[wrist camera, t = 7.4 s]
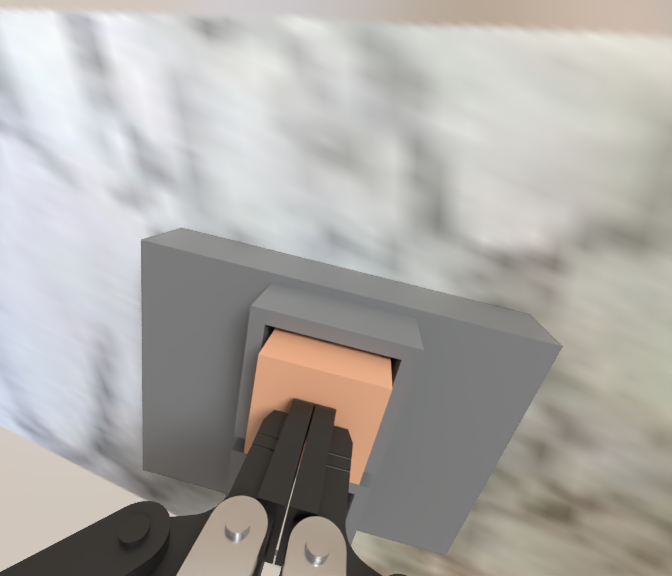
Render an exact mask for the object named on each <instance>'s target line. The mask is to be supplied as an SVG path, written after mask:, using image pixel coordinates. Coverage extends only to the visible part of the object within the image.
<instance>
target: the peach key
mask: <svg viewBox="0 0 672 576" xmlns="http://www.w3.org/2000/svg"><path fill="white" fill-rule="evenodd" d="M391 392H392V373H391V357H388V356H384V355H380V354H377V353H373V352H369V351H365V350H361V349H357V348H353V347H350V346H346V345H342V344H338V343H334V342H330V341H326V340H323V339H319V338H315V337H311V336H307V335H303V334H300V333H296V332H292V331H288V330H284V329H280V328H275V330H274V331H273V333H272V334H271V336H270V337H269V339H268V340H267V342H266V343H265V345H264V346H263V348H262V349H261V351H260V353H259V354H258V361H257V367H256V374H255V381H254V387H253V394H252V401H251V407H250V414H249V421H248V427H247V434H246V440H245V447H244V453H246V454H248V452H249V449H250V447H251V446H252V443H253V441H254V439H255V436H256V435H257V432H258V430H259V428H260V426H261V423H262V421H263V419H264V418H265V417H267V416H268V415H269V414H270V413H271V412H272V411H274V410H278V411H282V412H286V413H289V410H290V407H291V405H292V402H293V399H294V398H297V399H300V400H304V401H308V402H312V403H314V407H313V412H312V416H311V420H310V424H309V428H308V432H309V429H310V425H311V421H312V418H313V414H314V410H315V406H316V404H319V405H323V406H327V407H331V408H334V409H336V416H335V421H334V426H338V427H342V428H346V429H348V430H349V433H350V436H351V439H352V442H353V449H352V459H351V470H350V481H349V482H351V483H354V484H358V485H359V484H360V481H361V478H362V475H363V472H364V469H365V466H366V464H367V461H368V458H369V455H370V452H371V449H372V446H373V444H374V441H375V438H376V435H377V432H378V429H379V426H380V424H381V421H382V418H383V415H384V412H385V409H386V406H387V404H388V401H389V398H390V395H391ZM308 432H307V436H308ZM307 436H306V440H307ZM306 440H305V444H306ZM305 444H304V447H305ZM303 451H304V448H303ZM302 455H303V452H302ZM301 459H302V456H301ZM301 459H300V462H301ZM299 466H300V463H299ZM298 468H299V467H298Z"/></svg>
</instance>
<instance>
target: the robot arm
mask: <svg viewBox="0 0 672 576" xmlns="http://www.w3.org/2000/svg"><path fill="white" fill-rule="evenodd" d="M313 407H314V403H312V402H308V401H304V400H300V399H297V398H294V399H293V402H292V405H291V407H290V410H289V413H286V412H282V411H278V410H274V411H272V412H271V413H270V414H269V415H268V416H267V417H265V418H264V419H263V421H262V423H261V426H260V428H259V430H258V432H257V435H256V436H255V439H254V441H253V443H252V446H251V447H250V449H249V452H248V454H247V456H246V458H245V460H244V462H243V465H242V467H241V469H240V471H239V473H238V475H237V478H236V480H235V482H234V484H233V486H232V488H231V490H230V492H229V494H228V495H227V497H226V498H225V499H224V500H223V501H222V502H221V503H220V504H219V505H218V506H216V507H215V508H213V509H212V510H210V511H207V512H205V513H202V514H197V515H189V516H176V517H170V516H169V513H168V512H167V510H166V509H165V508H164V507H163V506H162V505H160V504H159V503H156V502H151V501H143V502H137V503H134V504H131V505H129V506H127V507H124V508H123V509H120V510H119V511H117V512H115V513H113V514H111V515H109V516H107V517H105V518H103V519H101V520H99V521H97V522H96V523H94V524H92V525H90V526H88V527H86V528H84V529H82V530H80V531H78V532H76V533H74V534H73V535H71V536H69V537H67V538H65V539H63V540H61V541H59V542H57V543H55V544H53V545H51V546H50V547H48V548H46V549H44V550H42V551H40V552H38V553H36V554H34V555H32V556H30V557H28V558H27V559H24V560H23V561H21V562H19V563H17V564H15V565H13V566H11V567H9V568H7V569H5V570H3V571H1V572H0V576H261V572H262V569H263V566H264V562H268V563H271V564H272V563H273V559H274V555H275V552H276V548H277V544H278V541H279V537H280V533H281V529H282V526H283V522H284V518H285V515H286V511H287V507H288V504H289V507H288V511H287V516H286V520H285V524H284V528H283V532H282V536H281V540H280V544H279V549H278V553H277V557H276V561H275V564H276V565H279V566H282V567H281V571H280V575H279V576H382V575H380V574H379V573H377V572H376V571H375V570H373V569H372V568H370V567H369V566H368V565H366V564H365V563H364V562H363V561H362V560H361V559H360V558H359V557H358V556H357V555H356V554H355V552H354V551H353V549H352V547H351V546H350V543H349V541H348V538H347V534H346V527H345V526H346V512H347V502H348V491H349V481H350V470H351V459H352V449H353V442H352V439H351V436H350V433H349V430H348V429H346V428H342V427H338V426H334V421H335V416H336V409H334V408H331V407H327V406H323V405H319V404H316V406H315V410H314V414H313V418H312V421H311V425H310V429H309V432H308V428H309V424H310V420H311V416H312V412H313ZM307 432H308V436H307ZM306 436H307V440H306ZM305 440H306V444H305ZM304 444H305V447H304ZM303 448H304V451H303ZM302 452H303V455H302ZM301 456H302V459H301ZM300 459H301V462H300ZM299 463H300V466H299ZM298 467H299V470H298ZM297 470H298V474H297ZM296 474H297V477H296ZM295 478H296V481H295ZM294 481H295V485H294ZM293 485H294V488H293ZM292 489H293V492H292ZM291 493H292V496H291ZM290 496H291V500H290ZM289 500H290V503H289ZM390 576H406V575H402V574H393V575H390Z"/></svg>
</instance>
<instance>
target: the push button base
mask: <svg viewBox="0 0 672 576" xmlns="http://www.w3.org/2000/svg"><path fill="white" fill-rule="evenodd" d="M141 284H142V401H143V470H146V471H149V472H153V473H156V474H160V475H163V476H167V477H170V478H174V479H177V480H181V481H185V482H188V483H192V484H195V485H199V486H202V487H206V488H209V489H213V490H216V491H220V492H223V493H226V497H227V495H228V494H229V492H230V490H231V488H232V486H233V484H234V482H235V480H236V478H237V475H238V473H239V471H240V469H241V467H242V465H243V462H244V460H245V458H246V456H247V454H246V453H244V447H245V440H246V434H247V427H248V421H249V414H250V407H251V401H252V394H253V387H254V381H255V374H256V367H257V361H258V354H259V353H260V351H261V349H262V348H263V346H264V345H265V343H266V342H267V340H268V339H269V337H270V336H271V334H272V333H273V331H274V330H275V328H280V329H284V330H288V331H292V332H296V333H300V334H303V335H307V336H311V337H315V338H319V339H323V340H326V341H330V342H334V343H338V344H342V345H346V346H350V347H353V348H357V349H361V350H365V351H369V352H373V353H377V354H380V355H384V356H388V357H391V373H392V392H391V395H390V398H389V401H388V404H387V406H386V409H385V412H384V415H383V418H382V421H381V424H380V426H379V429H378V432H377V435H376V438H375V441H374V444H373V446H372V449H371V452H370V455H369V458H368V461H367V464H366V466H365V469H364V472H363V475H362V478H361V481H360V484H359V485H358V484H354V483H351V482H349V491H348V502H347V512H346V526H345V527H346V534H347V538H348V541H349V543H350V546H351V544H352V541H353V538H354V536H355V533H356V530H357V531H361V532H364V533H368V534H371V535H375V536H378V537H382V538H385V539H389V540H392V541H396V542H399V543H403V544H406V545H410V546H413V547H417V548H421V549H424V550H428V551H431V552H435V553H438V554H442V555H445V556H446V554H447V552H448V550H449V549H450V547H451V545H452V543H453V541H454V540H455V538H456V536H457V534H458V532H459V531H460V529H461V527H462V525H463V524H464V522H465V520H466V518H467V516H468V515H469V513H470V511H471V509H472V507H473V506H474V504H475V502H476V500H477V498H478V497H479V495H480V493H481V491H482V490H483V488H484V486H485V484H486V482H487V481H488V479H489V477H490V475H491V473H492V472H493V470H494V468H495V466H496V465H497V463H498V461H499V459H500V457H501V456H502V454H503V452H504V450H505V448H506V447H507V445H508V443H509V441H510V440H511V438H512V436H513V434H514V432H515V431H516V429H517V427H518V425H519V423H520V422H521V420H522V418H523V416H524V414H525V413H526V411H527V409H528V407H529V406H530V404H531V402H532V400H533V398H534V397H535V395H536V393H537V391H538V389H539V388H540V386H541V384H542V382H543V381H544V379H545V377H546V375H547V373H548V372H549V370H550V368H551V366H552V364H553V363H554V361H555V359H556V357H557V356H558V354H559V352H560V350H561V348H562V347H563V346H562V345H561V344H560V343H559V342H558V341H557V340H556V339H555V338H554V337H553V336H552V335H551V334H550V333H549V332H548V331H547V330H546V329H545V328H544V327H542V326H541V325H540V324H539V323H538V322H537V321H536V320H535V319H534V318H533V317H532V316H531V315H529V314H525V313H521V312H517V311H513V310H509V309H505V308H501V307H497V306H493V305H489V304H485V303H481V302H477V301H473V300H469V299H465V298H461V297H457V296H453V295H449V294H445V293H441V292H437V291H433V290H429V289H425V288H421V287H417V286H413V285H409V284H405V283H401V282H397V281H393V280H389V279H385V278H381V277H377V276H373V275H369V274H365V273H361V272H357V271H353V270H349V269H345V268H341V267H337V266H333V265H329V264H325V263H321V262H317V261H313V260H309V259H305V258H301V257H297V256H293V255H289V254H285V253H281V252H277V251H273V250H269V249H265V248H261V247H257V246H253V245H249V244H245V243H241V242H237V241H233V240H229V239H225V238H221V237H217V236H213V235H209V234H205V233H201V232H197V231H193V230H189V229H185V228H179V229H176V230H172V231H169V232H166V233H162V234H159V235H155V236H152V237H149V238H145V239H142V240H141ZM298 470H299V468H298ZM298 470H297V474H298ZM297 474H296V477H297ZM277 553H278V550H276V552H275V555H276V556H277Z"/></svg>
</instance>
